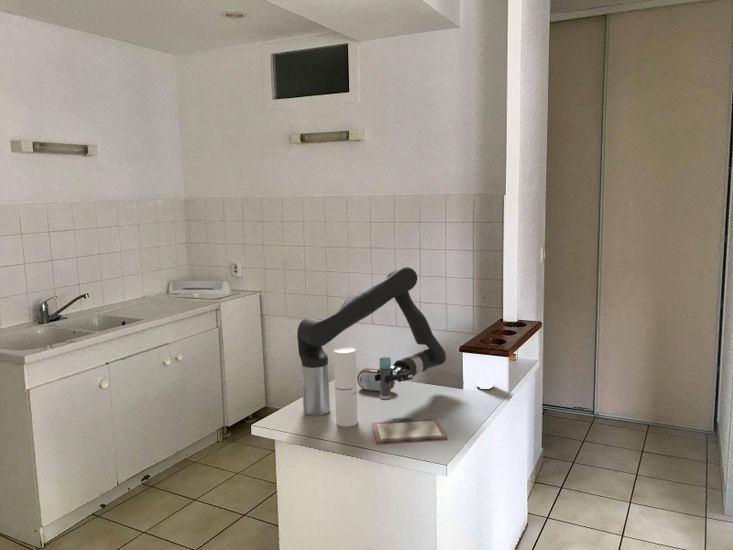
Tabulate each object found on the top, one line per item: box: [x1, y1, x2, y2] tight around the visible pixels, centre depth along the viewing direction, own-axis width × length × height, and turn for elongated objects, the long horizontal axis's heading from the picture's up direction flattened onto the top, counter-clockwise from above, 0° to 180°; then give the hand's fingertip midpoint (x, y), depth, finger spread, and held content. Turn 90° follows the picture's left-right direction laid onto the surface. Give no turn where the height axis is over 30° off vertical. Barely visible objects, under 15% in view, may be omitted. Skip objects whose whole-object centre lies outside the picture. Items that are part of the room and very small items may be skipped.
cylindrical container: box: [333, 346, 359, 428], centre depth 202 cm, size 7×7×25 cm
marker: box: [379, 356, 392, 401], centre depth 206 cm, size 4×4×14 cm
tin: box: [356, 367, 396, 392], centre depth 234 cm, size 15×3×8 cm, turn 66°
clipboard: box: [371, 416, 448, 445], centre depth 194 cm, size 22×15×2 cm
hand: (380, 379), depth 204 cm, fingers closed on marker, 3 cm apart
